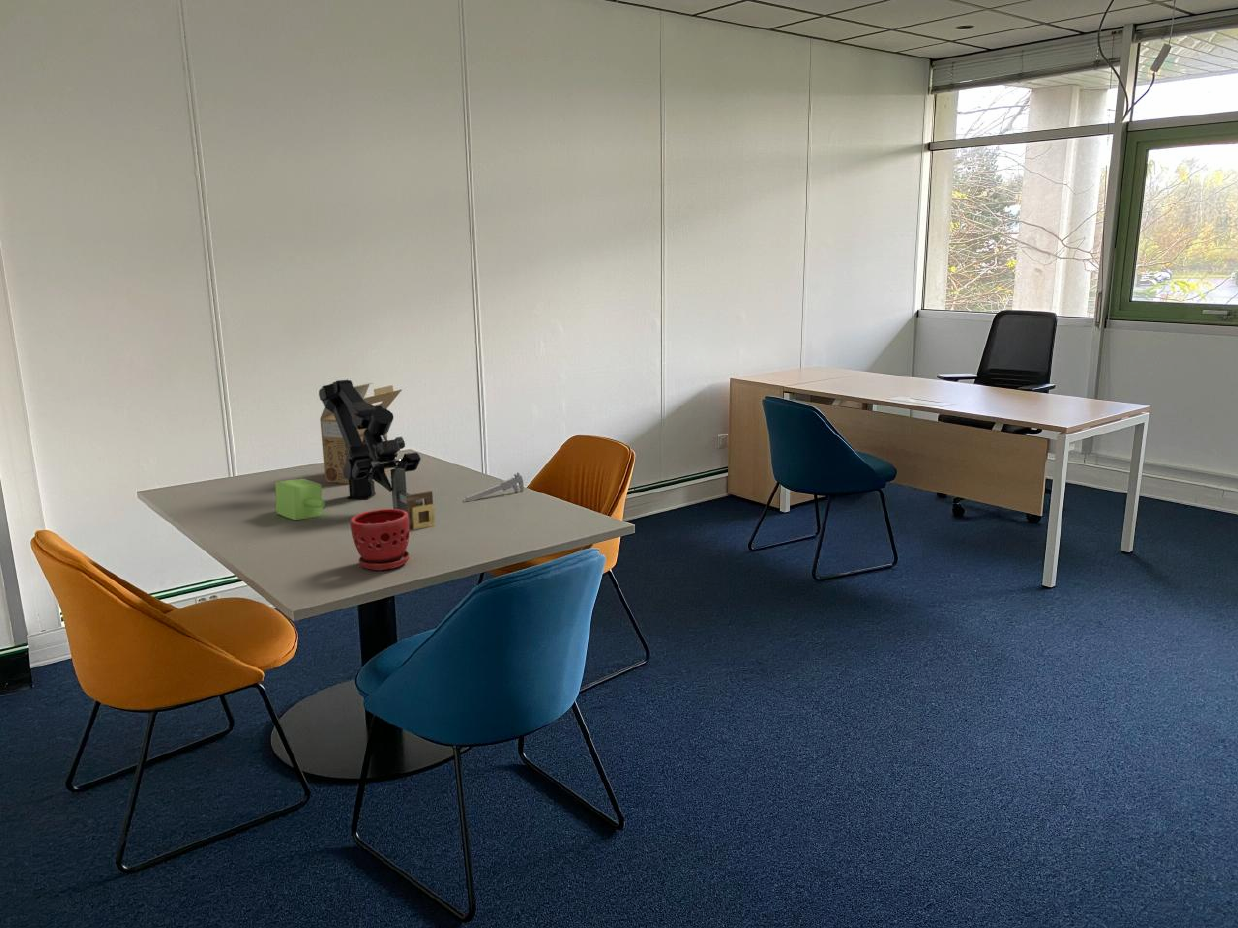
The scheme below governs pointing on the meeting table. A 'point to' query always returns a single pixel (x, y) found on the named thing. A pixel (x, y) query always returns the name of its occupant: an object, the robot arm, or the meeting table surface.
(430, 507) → the frame
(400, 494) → the steel shaft
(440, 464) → the meeting table surface
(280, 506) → the gearbox
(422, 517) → the plate
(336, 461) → the box
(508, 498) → the meeting table surface
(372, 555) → the plant pot
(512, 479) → the caliper
